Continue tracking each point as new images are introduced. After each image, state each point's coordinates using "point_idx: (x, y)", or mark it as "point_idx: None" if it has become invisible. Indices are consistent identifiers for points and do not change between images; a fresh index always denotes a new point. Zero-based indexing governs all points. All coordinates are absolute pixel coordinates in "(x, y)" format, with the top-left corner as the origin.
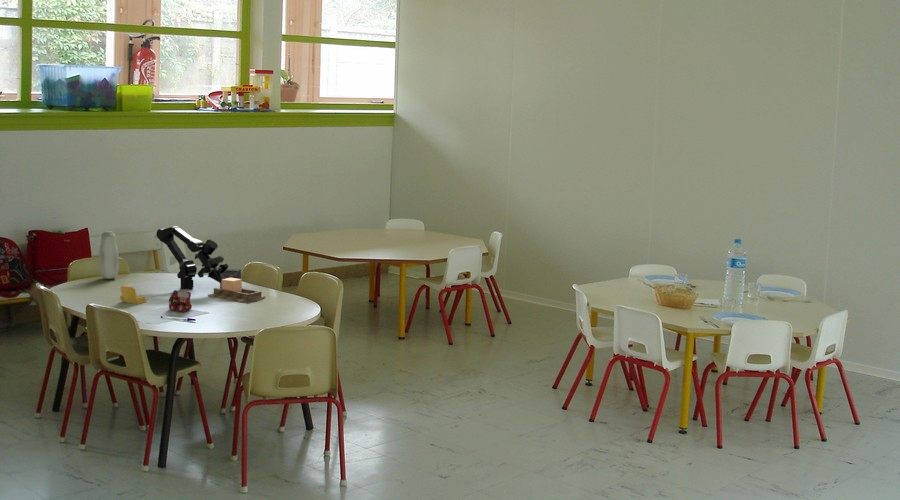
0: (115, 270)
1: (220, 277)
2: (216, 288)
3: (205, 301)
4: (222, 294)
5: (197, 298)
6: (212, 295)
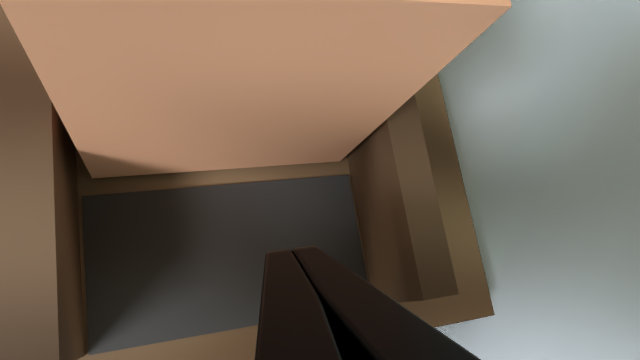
0: None
1: (317, 354)
2: (417, 250)
3: (622, 98)
4: None
5: (634, 301)
6: (471, 220)
